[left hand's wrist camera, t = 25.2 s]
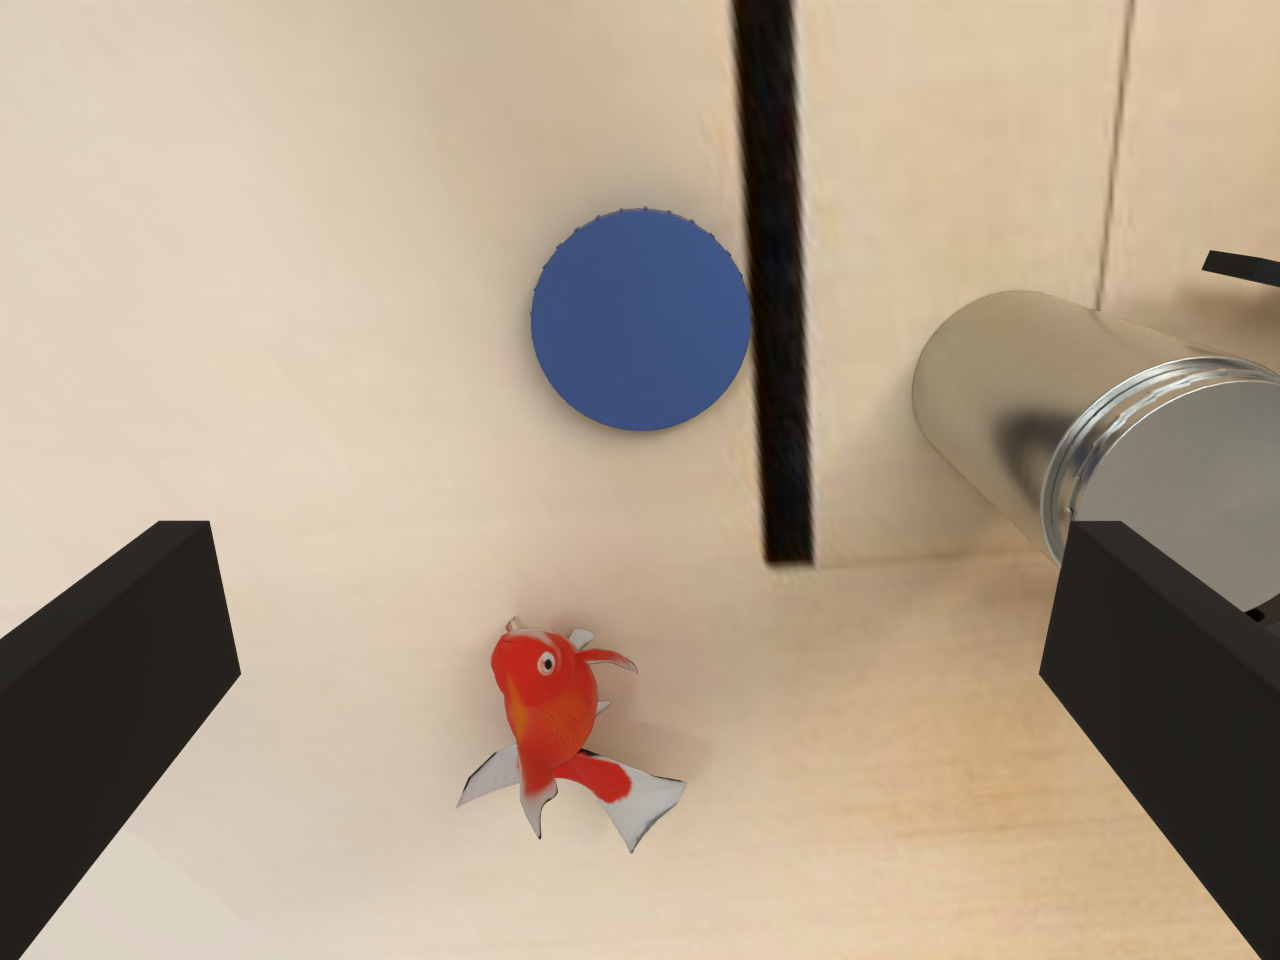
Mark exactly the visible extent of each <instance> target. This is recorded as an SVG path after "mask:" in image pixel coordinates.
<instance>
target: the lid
mask: <svg viewBox="0 0 1280 960" xmlns="http://www.w3.org/2000/svg"><path fill="white" fill-rule="evenodd" d="M574 231H575V232H574V233H573V234H572V235H571V236H570V237H569V238H568V239H567V240H566V241H565V242H564V243H563V244H562V243H560V244H559V245H558V246H557V247H556V248H557V251H556V252H555V253H554V255H553V256H552V257H551V258H550V260H549V262H548V263H546V264H545V265H544V267H543V269H544V270H543V272H542V274H541V277H540V279H539V281H538V284H537V286H536V288H535V289H534V291H535V294H534V298H533V304H532V311H531V314H530V315H531V330H532V339H533V344H534V348H535V351H536V355H537V358H538V361H539V363H540V365H541V368H542V370H543V372H544V373H545V375H546V377H547V379H548V380H549V382H550V383H551V385H552V386H553V387H554V389H555V390H556V391H557V393H558V394H559V395H560V396H561V397H562V398H563V399H564V400H565V401H566V402H567V403H568V404H570V405H571V406H572V407H573V408H575V409H576V410H577V411H579V412H580V413H582V414H584V415H585V416H587V417H589V418H590V419H593V420H595V421H597V422H599V423H602V424H604V425H608V426H611V427H614V428H619V429H625V430H635V431H647V430H658V429H662V428H667V427H671V426H674V425H677V424H680V423H683V422H685V421H687V420H689V419H691V418H693V417H695V416H697V415H698V414H700V413H701V412H703V411H704V410H706V409H707V408H708V407H709V406H711V405H712V404H713V403H714V402H715V401H716V400H718V398H719V397H720V396H721V395H722V394H723V393H724V392H725V391H726V390H727V388H728V387H729V385H730V384H731V383H732V381H733V380H734V378H735V376H736V375H737V373H738V371H739V369H740V367H741V365H742V362H743V359H744V357H745V354H746V351H747V347H748V342H749V336H750V326H751V320H750V306H749V300H750V299H749V297H748V295H747V291H746V288H745V285H744V282H743V279H742V277H743V276H742V274H741V273H740V272H739V271H738V269H737V267H736V265H735V264H734V262H733V261H732V259H731V257H730V256H731V254H730V253H729V252H728V251H727V250H726V251H725V250H724V249H723V248H722V246H721V245H720V244H719V243H718V242H717V241H716V240H715V239H714V237H715V236H714V235H713V234H712V233H710V234H708V233H707V232H706V231H705V230H703V229H702V228H701V227H699V226H698V225H696V224H695V222H694V221H693V220H692V219H690V221H689V220H687V219H685V218H683V217H681V216H678V215H675V214H672V212H671V211H670V210H668V212H665V211H660V210H655V209H647V207H644V209H639V208H638V209H627V210H623V208H621V209H620V211H617V212H613V213H609V214H606V215H604V216H601V217H600V215H598V216H597V217H596V219H594V220H593V221H591V222H589V223H587V224H585V225H584V226H582V227H581V228H579V227H577V228H576V229H575V230H574Z"/></svg>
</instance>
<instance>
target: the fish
mask: <svg viewBox="0 0 1280 960" xmlns="http://www.w3.org/2000/svg"><path fill="white" fill-rule="evenodd" d="M514 618H515V617H514ZM514 618H512V619H511V620H510V621H509V623H508V624H507V626H506V629H507V631H508V633H506V634H504V635H503V636H502V637H501V638H500V640H499V641H498V643H497V645H496V647H495V649H494V651H493V653H492V655H491V666H492V669H493V671H494V674H495V678H496V681H497V684H498V686H499V688H500V690H501V691H502V693H503V694H504V699H505V708H506V713H507V719H508V722H509V725H510V727H511V729H512V731H513V734H514V735H515V737H516V739H517V744H514V745H511V746H509V747H506V748H504V749H502V750H500V751H497V752H495V753H494V754H493V755H492V756H491V757H490V758H489V759H488V760H487V761H486V762H485V763H484V764H483V765H481V766H480V767H479V768H478V769H477V770H476V771H475V772H474V773H473V774H472V775H471V776H470V777H469V778H468V780H467V783H466V785H465V788H464V790H463V792H462V795H461V797H460V800H459V802H458V805H457V807H456V808H458V807H460V806H461V805H463V804H465V803H466V802H469V801H471V800H473V799H475V798H477V797H480V796H482V795H484V794H487V793H489V792H492V791H495V790H497V789H500V788H503V787H507V786H510V785H513V784H517V783H520V802H521V804H522V807H523V809H524V812H525V814H526V817H527V819H528V821H529V822H530V824H531V826H532V828H533V830H534V831H535V833H536V835H537V837H538V838H539V839H541V822H540V818H541V810H542V808H543V806H544V804H545V803H546V802H548V801H550V800H551V799H553V798H554V797H555V796H556V795H557V793H558V789H557V784H556V780H555V778H565V779H569V780H573V781H575V782H578V783H580V784H582V785H584V786H586V787H587V788H589V789H590V790H591V791H592V792H593V793H594V794H595V795H596V797H597V798H598V800H599V801H600V803H601V804H602V806H603V807H604V809H605V810H606V812H607V814H608V815H609V817H610V819H611V820H612V822H613V824H614V825H615V827H616V828H617V830H618V832H619V833H620V835H621V837H622V838H623V840H624V842H625V844H626V846H627V848H628V850H629V852H630V854H631V853H633V851H634V849H635V847H636V846H637V844H638V843H639V841H640V840H641V838H642V837H643V835H644V834H645V833H646V832H647V831H648V830H649V829H650V828H651V827H652V825H653V824H654V823H655V822H656V821H657V820H658V819H659V818H660V817H661V816H663V815H664V814H665V813H666V812H668V811H669V810H670V809H671V808H673V807H674V806H675V805H676V804H677V802H678V800H679V798H680V796H681V794H682V792H683V790H684V788H685V787H686V785H687V783H686V782H683V781H680V780H675V779H669V778H663V777H657V776H653V775H650V774H648V773H645V772H642V771H640V770H637V769H635V768H632V767H630V766H627V765H624V764H622V763H619V762H616V761H614V760H611V759H609V758H606V757H603V756H601V755H598V754H596V753H593V752H590V751H588V750H585V749H581V747H582V746H583V744H584V743H585V741H586V740H587V738H588V736H589V735H590V733H591V730H592V727H593V724H594V720H595V717H596V715H598V714H599V713H600V712H601V711H603V710H604V709H605V708H607V707H608V706H609V705H610V703H611V701H605V702H598V698H597V686H596V681H595V678H594V675H593V673H592V671H591V668H590V666H589V664H595V663H601V662H610V663H613V664H616V665H619V666H621V667H623V668H626V669H629V670H633V671H636V672H637V668H636V666H635V665H634V663H633V662H631V661H630V660H628V659H627V658H624V657H623V656H621V655H620V654H618V653H616V652H613V651H609V650H601V649H588V650H582V651H580V650H581V649H582V648H583V647H584V646H585V645H587V644H588V643H589V642H591V641H592V640H593V639H594V634H593V633H592V632H590V631H587V630H583V629H580V628H576V629H574V630H573V632H572V634H571V636H570V637H569V639H567V638H565V637H564V636H562V635H560V634H557V633H555V632H552V631H549V630H544V629H537V628H526V629H516V630H513V629H512V626H511V622H512V621H513V620H514ZM637 674H638V673H637Z"/></svg>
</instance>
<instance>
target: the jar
mask: <svg viewBox="0 0 1280 960" xmlns="http://www.w3.org/2000/svg"><path fill="white" fill-rule="evenodd" d="M913 405H914V412H915V415H916V419H917V422H918V424H919V426H920V428H921V431H922V432H923V434H924V436H925V437H926V439H927V440H928V441H929V442H930V444H931V445H932V446H933V447H934V448H935V449H936V450H937V451H938V452H939V453H940V454H941V455H942V456H943V457H944V458H945V459H946V460H947V461H948V462H949V463H950V464H951V465H952V466H954V467H955V468H956V469H957V470H958V471H959V472H960V473H961V474H962V475H963V476H964V477H965V478H966V479H967V480H968V481H969V482H970V483H971V484H972V485H973V486H974V487H975V488H976V489H977V490H978V491H979V492H980V493H981V494H982V495H983V496H984V497H985V498H986V499H988V500H989V501H990V502H991V503H992V504H993V505H994V506H995V507H996V508H997V509H998V510H999V511H1000V512H1001V513H1002V514H1003V515H1004V516H1005V517H1006V518H1007V519H1008V520H1009V521H1010V522H1011V523H1012V524H1013V525H1014V526H1015V527H1016V528H1017V529H1018V530H1019V531H1020V532H1022V533H1023V534H1024V535H1025V536H1026V537H1027V538H1028V539H1029V540H1030V541H1031V542H1032V543H1033V544H1034V545H1035V546H1036V547H1037V548H1038V549H1039V550H1040V551H1041V552H1042V553H1043V554H1044V555H1045V556H1046V557H1047V558H1048V559H1049V560H1050V561H1051V562H1052V563H1053V564H1054V565H1056V566H1057V567H1058V568H1059V569H1060V570H1061V565H1062V560H1063V555H1064V550H1065V545H1066V541H1067V536H1068V531H1069V526H1070V521H1122V522H1123V523H1125V524H1126V525H1127V526H1129V527H1130V528H1131V529H1133V530H1134V531H1135V532H1137V533H1138V534H1139V535H1141V536H1142V537H1143V538H1145V539H1146V540H1147V541H1149V542H1150V543H1151V544H1153V545H1154V546H1155V547H1157V548H1158V549H1159V550H1161V551H1162V552H1163V553H1165V554H1166V555H1167V556H1169V557H1170V558H1171V559H1173V560H1174V561H1175V562H1177V563H1178V564H1180V565H1181V566H1182V567H1184V568H1185V569H1186V570H1188V571H1189V572H1190V573H1192V574H1193V575H1194V576H1196V577H1197V578H1198V579H1200V580H1201V581H1202V582H1204V583H1205V584H1206V585H1208V586H1209V587H1210V588H1212V589H1213V590H1214V591H1216V592H1217V593H1218V594H1220V595H1221V596H1222V597H1224V598H1225V599H1226V600H1228V601H1229V602H1230V603H1232V604H1233V605H1235V606H1236V607H1237V608H1239V609H1240V610H1241V611H1243V612H1246V611H1248V610H1250V609H1253V608H1255V607H1257V606H1259V605H1261V604H1263V603H1264V602H1266V601H1268V600H1270V599H1272V598H1273V597H1275V596H1276V595H1278V594H1279V593H1280V376H1279V375H1277V374H1276V373H1274V372H1273V371H1271V370H1270V369H1268V368H1266V367H1264V366H1262V365H1259V364H1257V363H1255V362H1252V361H1249V360H1246V359H1243V358H1240V357H1237V356H1234V355H1231V354H1228V353H1225V352H1222V351H1218V350H1215V349H1212V348H1209V347H1206V346H1203V345H1200V344H1197V343H1194V342H1191V341H1188V340H1185V339H1182V338H1179V337H1175V336H1172V335H1169V334H1166V333H1163V332H1160V331H1157V330H1154V329H1151V328H1148V327H1145V326H1142V325H1139V324H1136V323H1132V322H1129V321H1126V320H1123V319H1120V318H1117V317H1114V316H1111V315H1108V314H1105V313H1102V312H1099V311H1096V310H1093V309H1089V308H1086V307H1083V306H1080V305H1077V304H1074V303H1071V302H1068V301H1065V300H1062V299H1059V298H1056V297H1053V296H1049V295H1046V294H1043V293H1039V292H1032V291H1008V292H1001V293H997V294H993V295H989V296H987V297H984V298H982V299H979V300H977V301H975V302H973V303H971V304H969V305H967V306H965V307H964V308H963V309H961V310H960V311H958V312H957V313H955V314H954V315H953V316H952V317H951V318H949V319H948V320H947V321H946V322H945V323H944V324H943V325H942V326H941V327H940V328H939V329H938V330H937V332H936V333H935V334H934V336H933V337H932V338H931V340H930V341H929V342H928V344H927V346H926V348H925V350H924V351H923V353H922V355H921V358H920V360H919V363H918V365H917V369H916V373H915V376H914V383H913Z"/></svg>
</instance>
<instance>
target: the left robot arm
mask: <svg viewBox="0 0 1280 960" xmlns="http://www.w3.org/2000/svg"><path fill="white" fill-rule="evenodd" d="M240 675H241V671H240V666H239V661H238V657H237V652H236V647H235V642H234V637H233V632H232V628H231V623H230V618H229V613H228V608H227V603H226V599H225V594H224V589H223V584H222V579H221V574H220V570H219V565H218V560H217V555H216V550H215V545H214V541H213V536H212V531H211V526H210V521H158V522H157V523H155V524H154V525H153V526H151V527H150V528H149V529H147V530H146V531H145V532H143V533H142V534H141V535H139V536H138V537H137V538H135V539H134V540H133V541H131V542H130V543H129V544H127V545H126V546H125V547H123V548H122V549H121V550H119V551H118V552H117V553H115V554H114V555H113V556H111V557H110V558H109V559H107V560H106V561H105V562H103V563H102V564H100V565H99V566H98V567H96V568H95V569H94V570H92V571H91V572H90V573H88V574H87V575H86V576H84V577H83V578H82V579H80V580H79V581H78V582H76V583H75V584H74V585H72V586H71V587H70V588H68V589H67V590H66V591H64V592H63V593H62V594H60V595H59V596H58V597H56V598H55V599H54V600H52V601H51V602H50V603H48V604H47V605H45V606H44V607H43V608H41V609H40V610H39V611H37V612H36V613H35V614H33V615H32V616H31V617H29V618H28V619H27V620H25V621H24V622H23V623H21V624H20V625H19V626H17V627H16V628H15V629H13V630H12V631H11V632H9V633H8V634H7V635H5V636H4V637H3V638H1V639H0V960H19V958H20V957H21V956H22V954H23V953H24V952H25V951H26V949H27V948H28V947H29V946H30V944H31V943H32V942H33V940H34V939H35V938H36V936H37V935H38V934H39V933H40V931H41V930H42V929H43V928H44V926H45V925H46V924H47V922H48V921H49V920H50V919H51V917H52V916H53V915H54V913H55V912H56V911H57V910H58V908H59V907H60V906H61V905H62V903H63V902H64V901H65V899H66V898H67V897H68V896H69V894H70V893H71V892H72V890H73V889H74V888H75V887H76V885H77V884H78V883H79V881H80V880H81V879H82V878H83V876H84V875H85V874H86V872H87V871H88V870H89V869H90V867H91V866H92V865H93V863H94V862H95V861H96V860H97V858H98V857H99V856H100V854H101V853H102V852H103V851H104V849H105V848H106V847H107V845H108V844H109V843H110V842H111V840H112V839H113V838H114V836H115V835H116V834H117V833H118V831H119V830H120V829H121V828H122V826H123V825H124V824H125V822H126V821H127V820H128V819H129V817H130V816H131V815H132V813H133V812H134V811H135V810H136V808H137V807H138V806H139V804H140V803H141V802H142V801H143V799H144V798H145V797H146V795H147V794H148V793H149V792H150V790H151V789H152V788H153V786H154V785H155V784H156V783H157V781H158V780H159V779H160V777H161V776H162V775H163V774H164V772H165V771H166V770H167V769H168V767H169V766H170V765H171V763H172V762H173V761H174V760H175V758H176V757H177V756H178V754H179V753H180V752H181V751H182V749H183V748H184V747H185V745H186V744H187V743H188V742H189V740H190V739H191V738H192V736H193V735H194V734H195V733H196V731H197V730H198V729H199V727H200V726H201V725H202V724H203V722H204V721H205V720H206V718H207V717H208V716H209V715H210V713H211V712H212V711H213V709H214V708H215V707H216V706H217V704H218V703H219V702H220V701H221V699H222V698H223V697H224V695H225V694H226V693H227V692H228V690H229V689H230V688H231V686H232V685H233V684H234V683H235V681H236V680H237V679H238V677H239V676H240ZM1039 675H1040V676H1041V677H1042V679H1043V680H1044V681H1045V683H1046V684H1047V685H1048V686H1049V688H1050V689H1051V690H1052V692H1053V693H1054V694H1055V695H1056V697H1057V698H1058V699H1059V701H1060V702H1061V703H1062V704H1063V706H1064V707H1065V708H1066V709H1067V711H1068V712H1069V713H1070V715H1071V716H1072V717H1073V718H1074V720H1075V721H1076V722H1077V724H1078V725H1079V726H1080V727H1081V729H1082V730H1083V731H1084V733H1085V734H1086V735H1087V736H1088V738H1089V739H1090V740H1091V742H1092V743H1093V744H1094V745H1095V747H1096V748H1097V749H1098V751H1099V752H1100V753H1101V754H1102V756H1103V757H1104V758H1105V760H1106V761H1107V762H1108V763H1109V765H1110V766H1111V767H1112V769H1113V770H1114V771H1115V772H1116V774H1117V775H1118V776H1119V777H1120V779H1121V780H1122V781H1123V783H1124V784H1125V785H1126V786H1127V788H1128V789H1129V790H1130V792H1131V793H1132V794H1133V795H1134V797H1135V798H1136V799H1137V801H1138V802H1139V803H1140V804H1141V806H1142V807H1143V808H1144V810H1145V811H1146V812H1147V813H1148V815H1149V816H1150V817H1151V819H1152V820H1153V821H1154V822H1155V824H1156V825H1157V826H1158V828H1159V829H1160V830H1161V831H1162V833H1163V834H1164V835H1165V837H1166V838H1167V839H1168V840H1169V842H1170V843H1171V844H1172V845H1173V847H1174V848H1175V849H1176V851H1177V852H1178V853H1179V854H1180V856H1181V857H1182V858H1183V860H1184V861H1185V862H1186V863H1187V865H1188V866H1189V867H1190V869H1191V870H1192V871H1193V872H1194V874H1195V875H1196V876H1197V878H1198V879H1199V880H1200V881H1201V883H1202V884H1203V885H1204V887H1205V888H1206V889H1207V890H1208V892H1209V893H1210V894H1211V896H1212V897H1213V898H1214V899H1215V901H1216V902H1217V903H1218V905H1219V906H1220V907H1221V908H1222V910H1223V911H1224V912H1225V913H1226V915H1227V916H1228V917H1229V919H1230V920H1231V921H1232V922H1233V924H1234V925H1235V926H1236V928H1237V929H1238V930H1239V931H1240V933H1241V934H1242V935H1243V937H1244V938H1245V939H1246V940H1247V942H1248V943H1249V944H1250V946H1251V947H1252V948H1253V949H1254V951H1255V952H1256V953H1257V955H1258V956H1259V957H1260V958H1261V960H1280V639H1279V638H1277V637H1276V636H1275V635H1273V634H1272V633H1271V632H1269V631H1268V630H1267V629H1265V628H1264V627H1263V626H1261V625H1260V624H1259V623H1257V622H1256V621H1255V620H1253V619H1252V618H1251V617H1249V616H1248V615H1247V614H1245V613H1244V612H1243V611H1241V610H1240V609H1239V608H1237V607H1236V606H1235V605H1233V604H1232V603H1230V602H1229V601H1228V600H1226V599H1225V598H1224V597H1222V596H1221V595H1220V594H1218V593H1217V592H1216V591H1214V590H1213V589H1212V588H1210V587H1209V586H1208V585H1206V584H1205V583H1204V582H1202V581H1201V580H1200V579H1198V578H1197V577H1196V576H1194V575H1193V574H1192V573H1190V572H1189V571H1188V570H1186V569H1185V568H1184V567H1182V566H1181V565H1180V564H1178V563H1177V562H1175V561H1174V560H1173V559H1171V558H1170V557H1169V556H1167V555H1166V554H1165V553H1163V552H1162V551H1161V550H1159V549H1158V548H1157V547H1155V546H1154V545H1153V544H1151V543H1150V542H1149V541H1147V540H1146V539H1145V538H1143V537H1142V536H1141V535H1139V534H1138V533H1137V532H1135V531H1134V530H1133V529H1131V528H1130V527H1129V526H1127V525H1126V524H1125V523H1123V522H1122V521H1070V526H1069V531H1068V536H1067V541H1066V545H1065V550H1064V555H1063V560H1062V565H1061V570H1060V574H1059V579H1058V584H1057V589H1056V594H1055V599H1054V603H1053V608H1052V613H1051V618H1050V623H1049V628H1048V632H1047V637H1046V642H1045V647H1044V652H1043V657H1042V661H1041V666H1040V671H1039Z"/></svg>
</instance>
